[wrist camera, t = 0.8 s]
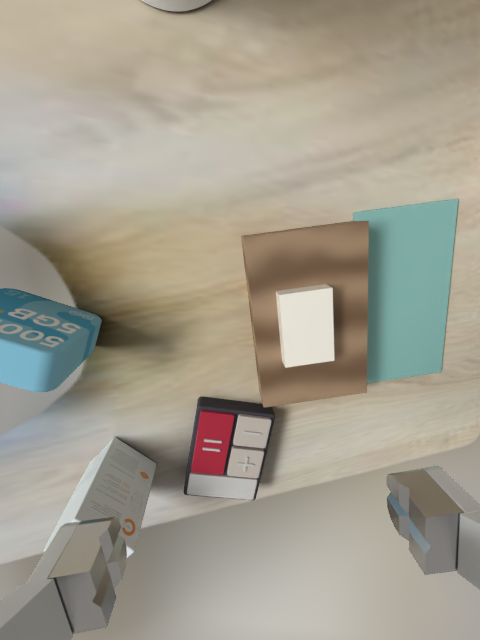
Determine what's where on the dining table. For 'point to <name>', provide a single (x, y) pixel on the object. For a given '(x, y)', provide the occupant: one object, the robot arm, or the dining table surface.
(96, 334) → the data package
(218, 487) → the calculator
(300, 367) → the board
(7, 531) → the dining table surface
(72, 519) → the small box
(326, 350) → the white rectangular eraser
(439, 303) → the mat
